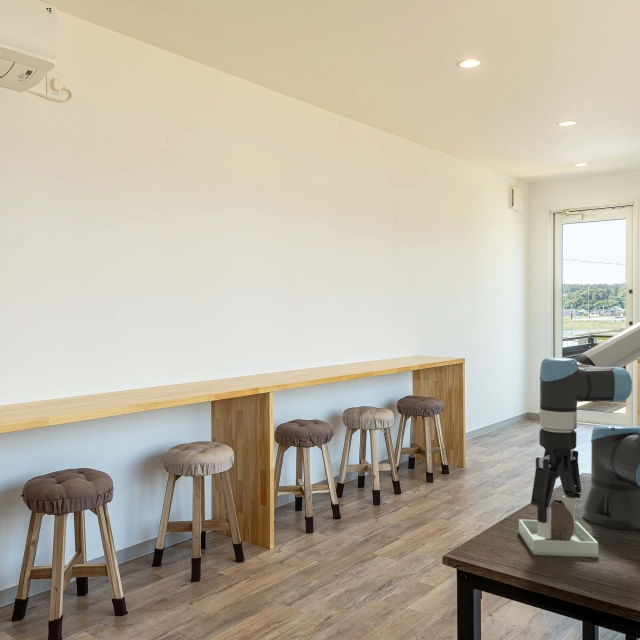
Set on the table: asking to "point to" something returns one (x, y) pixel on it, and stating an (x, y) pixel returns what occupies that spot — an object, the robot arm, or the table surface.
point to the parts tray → (558, 542)
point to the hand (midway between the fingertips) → (556, 531)
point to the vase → (561, 522)
